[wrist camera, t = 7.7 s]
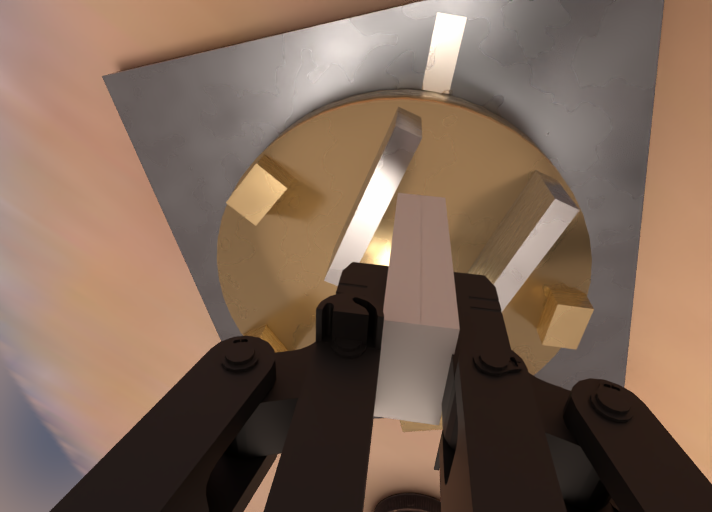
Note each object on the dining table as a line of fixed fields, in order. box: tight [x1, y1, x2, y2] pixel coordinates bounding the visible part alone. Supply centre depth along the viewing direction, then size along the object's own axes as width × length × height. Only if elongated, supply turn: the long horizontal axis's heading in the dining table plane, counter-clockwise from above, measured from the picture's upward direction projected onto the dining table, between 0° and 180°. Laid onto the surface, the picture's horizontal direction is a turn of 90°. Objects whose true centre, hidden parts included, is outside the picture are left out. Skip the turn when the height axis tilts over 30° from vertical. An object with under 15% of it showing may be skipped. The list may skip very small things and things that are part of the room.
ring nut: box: [217, 89, 594, 432], centre depth 22 cm, size 18×18×5 cm
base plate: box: [102, 0, 664, 419], centre depth 25 cm, size 24×24×2 cm
